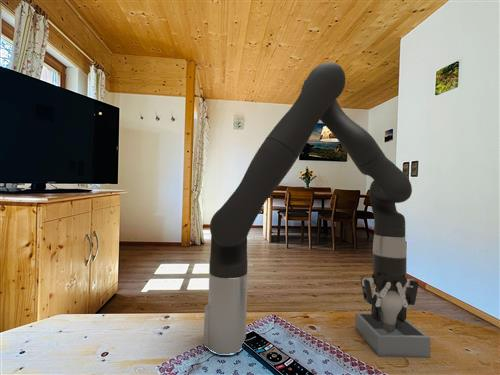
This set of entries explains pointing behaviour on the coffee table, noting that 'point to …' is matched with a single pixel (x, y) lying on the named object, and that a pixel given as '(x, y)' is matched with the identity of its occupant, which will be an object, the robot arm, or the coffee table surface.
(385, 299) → the lightbulb
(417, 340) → the tray
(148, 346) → the coffee table surface
